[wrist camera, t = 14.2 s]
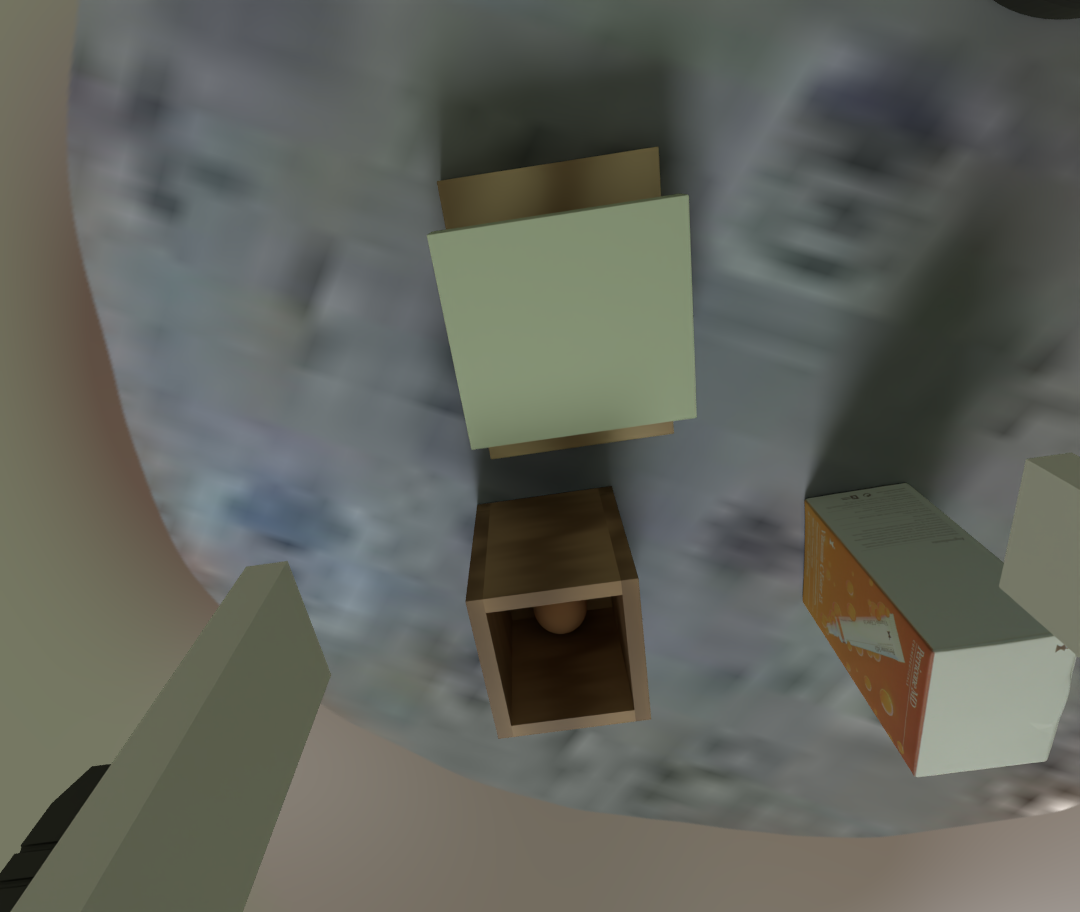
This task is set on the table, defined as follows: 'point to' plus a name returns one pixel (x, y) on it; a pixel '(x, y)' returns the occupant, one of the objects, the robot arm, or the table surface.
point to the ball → (561, 616)
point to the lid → (570, 320)
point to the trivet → (551, 194)
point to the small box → (932, 632)
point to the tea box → (549, 578)
